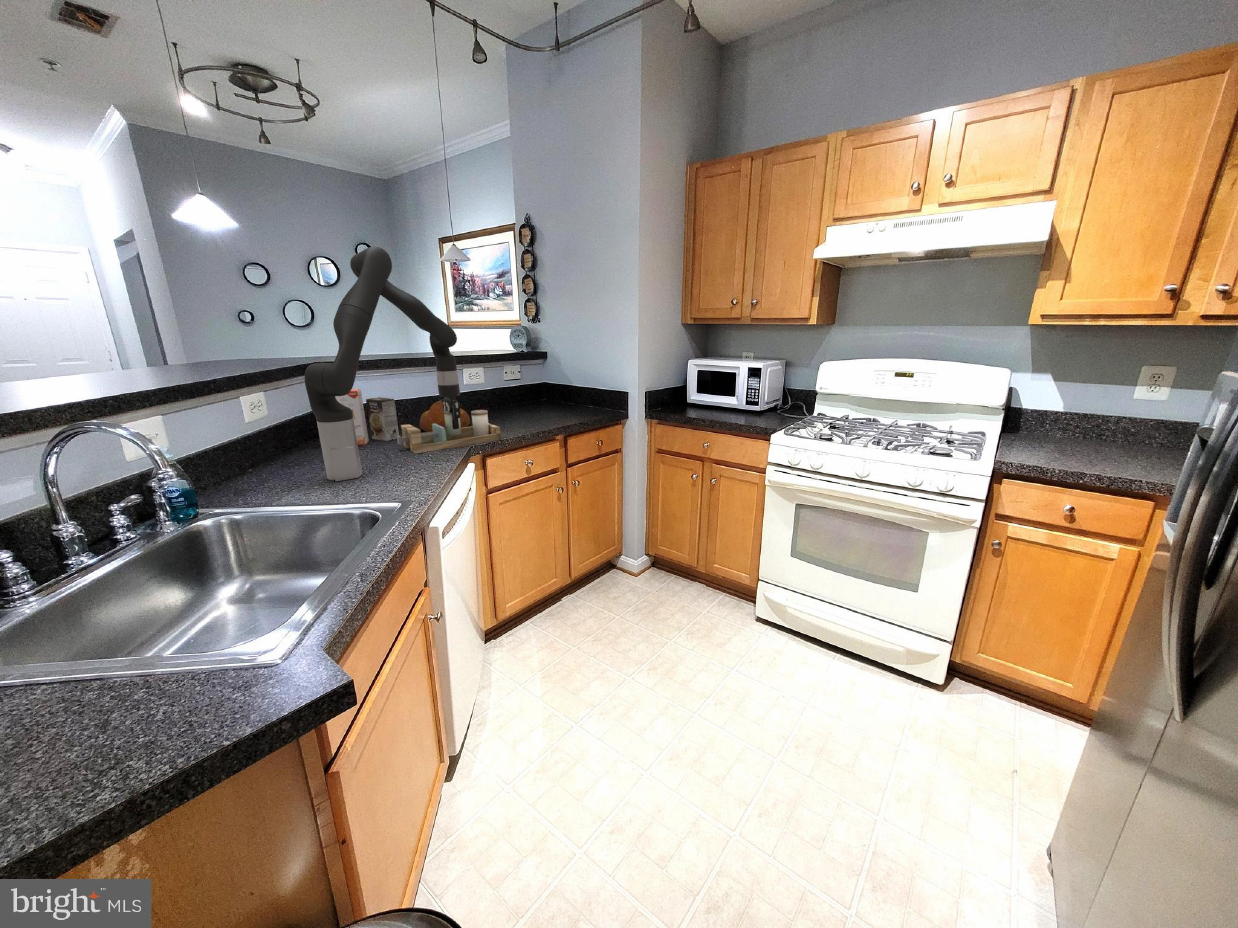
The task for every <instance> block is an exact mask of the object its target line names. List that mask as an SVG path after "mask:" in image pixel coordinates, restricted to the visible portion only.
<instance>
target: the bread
mask: <svg viewBox="0 0 1238 928" xmlns="http://www.w3.org/2000/svg"><path fill="white" fill-rule="evenodd" d="M460 415H461V417H460V424H461V428H463V427H469V425H470V424H471V417H470V415H469V414H468V412H467V411H466V410H464V409H463V408H461V407H460ZM432 424H437V425H439V426H442V427H444V428H445V430H446V424H445V416H444V414H443V408H442V402H441V399H440V400H439V401H436V402H434V403H433V404H432V405H431V406H430V408H429V410H426V411H424V412H423V413H422V414H421V416H420V419H419V427H420V430H421V429H422V430H423V431H424V432H425V433H426V432H433V429H432Z"/></svg>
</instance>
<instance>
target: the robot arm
mask: <svg viewBox="0 0 1238 928" xmlns="http://www.w3.org/2000/svg"><path fill="white" fill-rule="evenodd" d="M349 265H350V269H351V271H352V272H353V274H354V275H355V277H356V278H357V280H356V281H355V283H354V284H353V285H352V286H351V288H350V289H349V290H348V291H347V293H346V294H345V295H344V297H343V298H342V300H341V301H340V303H339V305H338V308H337V310H336V312H335V315H334V318H333V329H334V330H333V331H334V333H335V336H336V338H337V341H338V350H337V354H336V356H335V359H334V360H333V362H322V363H321V362H319V363H318V362H317V363H316V362H315V363H311V364H310V365H308V366H307V368H305V372H304V386H305V389H306V394H307V397H308V401H309V405H310V409H311V412H312V413H313V415H314V416H315V419H316V423H317V429H318V436H319V442H320V448H321V452H322V457H323V458H322V459H323V463H324V467H325V473H326V477H327V480H328V481H334V480H335V482H341V481H346V480H353V479H358V478H360V476H362V475H363V470H362V469H363V467H362V463H361V459H360V451H359V447H358V446H359V445H357V439H356V433H355V426H354V420H353V414H352V410H351V409H350V408H348V407H346V406H344V405H342V404H341V403H339V402H338V401H337V400H336V397H335V396H345V395H347V394H348V393H349V392H350V391H351V389H353V388H354V385H355V380H356V376H357V372H358V367H359V362H360V357H361V354H362V350H363V347H364V345H365V344H364V343H365V342H366V341H365V340H366V339H367V335H368V333H369V330H370V327H371V324H372V321H373V317H374V314H375V311H376V309H377V305H378V302H379V301H380V300H379V299H380V296H381V297H383V299H385V300H387V301H388V302H389V303H391V304H392V305H394V306H395V307H396V308H397V309H398V310H400V311H401V312H402V313H403V314H404V315H405V316H406V317H407V318H409V320H410V321H412V323H414V324H415V325H416V326H417V328H419V329H421V330H422V331H425V332H428V334H429V343H430V348H431V351H432V353H433V356H434V358H435V359H434V360H435V368H436V381H437V382H436V383H437V389H438V396H439V397H440V398H443V399H440V400H441V402H442V408H443V414H444V411H447V410H448V411H449V414H451V418H452V426H453V429H459V421H458V419H459V418H460V417H461V415H460V408H461V403H460V402H458V401H457V397H459V396H460V395H461V389H460V379H459V375H458V374H459V373H458V370H457V361H456V357H455V355H453V354H452V353H451V351H450V348H453V347H454V346H455V345H456V344H457V341H458V337H457V334H456V332H455V331H454V329H453V328H452V327H451V326H450V325H449V324H447V323H446V322H444V320H442V319H441V318H439V317H438V316H436V315H435V314H434V313H433V312H432V310H430V309H429V307H427V306H426V304H424V302H422V301H421V300H420V299H419V298H417V297H415V296H414V295H412V294H411V293H409V292H406V291H404V290H403V289H401V288H399V287H398V286H395V285H394V284H393V283H392V282H390V280H388V279H389V278H390V276H391V273H392V271H393V262H392V259H391V257H390V254H389V252H387V250H385V249H384V248H382V247H381V246H370V247H367V248H364V249H362V250H361V251H359V252H357V253H356V254H354V255H353V256H352V257H350V262H349ZM455 413H456V415H455Z"/></svg>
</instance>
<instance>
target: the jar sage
mask: <svg viewBox="0 0 1238 928" xmlns="http://www.w3.org/2000/svg"><path fill="white" fill-rule="evenodd" d="M455 415H456V413H455ZM444 416H445V424H446V433H447V435H458V434H461V424H460V418H459V419H458V421H459V429H453V426H452V418H451V414H449V411H448V410H447V411H444Z"/></svg>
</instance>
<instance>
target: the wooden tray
mask: <svg viewBox="0 0 1238 928" xmlns="http://www.w3.org/2000/svg"><path fill="white" fill-rule="evenodd" d="M488 425H489V435H483V436H477V437H474V434H473V425H470V426H467V427H463V428H461V434H458V435H447V433H446V430H445V433H446V441H443V442H437V443H435V442H434V438H428V439H421V435H424V434H431V433H433V432H426V431H425V432H421V429H420V428H417V427H415V426H414V425H411V424H409V423H408V424H400V428H401V437H409V441H407V442H402V445H403V447H404V448H405V449H410V452H411V451H412V452H411V453H413V454H414V453H415V454H420V453H426V452H427V451H428V452H433V451H440V450H446V449H453V448H459V447H465V446H472V445H477V444H483V443H484V444H485V443H490V442H496V441H501V440H502V435H501V427H500V426H498V425H495V424H492V423H489V422H488ZM428 452H427V453H428Z"/></svg>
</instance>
